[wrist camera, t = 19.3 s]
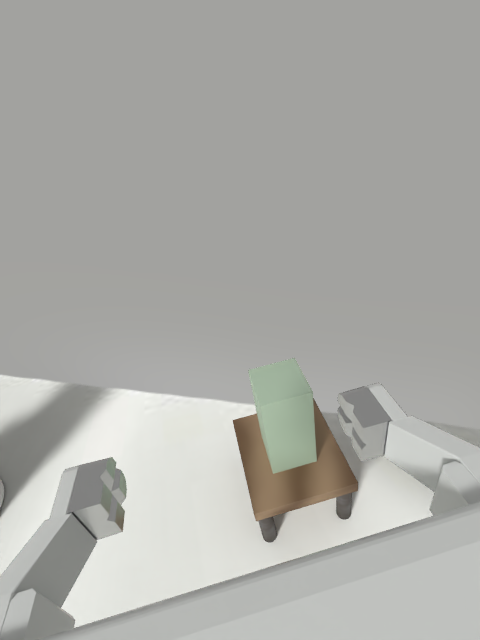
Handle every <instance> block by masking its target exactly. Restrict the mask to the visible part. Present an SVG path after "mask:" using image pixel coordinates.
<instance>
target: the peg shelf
mask: <svg viewBox="0 0 480 640" xmlns="http://www.w3.org/2000/svg"><path fill="white" fill-rule="evenodd" d="M313 406H314V423H315V440H316V457H317V461H316V462H312V463H309V464H305V465H302V466H298V467H295V468H292V469H288V470H285V471H281V472H278V473H274V474H273V472H272V468H271V465H270V462H269V459H268V455H267V452H266V449H265V445H264V442H263V439H262V435H261V430H260V426H259V421H258V416H257V414H254V415H250V416H247V417H243V418H239V419H236V420H233V424H234V428H235V432H236V437H237V441H238V446H239V450H240V454H241V459H242V463H243V467H244V472H245V476H246V481H247V485H248V489H249V494H250V498H251V502H252V507H253V511H254V515H255V519H256V521H259V524H260V528H261V531H262V535H263V538H264V540H265V541H267V542H273V541H274V540H275V539H276V536H277V533H276V529H275V524H274V520H273V516H275V515H279V514H282V513H285V512H289V511H292V510H295V509H299V508H302V507H305V506H309V505H312V504H315V503H319V502H322V501H325V500H329V499H332V498H335V497H336V512H337V515H338V516H339V517H340V518H341V519H348V518H349V517H350V515H351V498H352V492H355V491H358V482H357V480H356V478H355V476H354V474H353V472H352V471H351V469H350V467H349V465H348V463H347V461H346V459H345V457H344V455H343V453H342V452H341V450H340V448H339V446H338V444H337V442H336V440H335V438H334V436H333V434H332V433H331V431H330V429H329V427H328V425H327V423H326V421H325V419H324V417H323V416H322V414H321V412H320V410H319V408H318V406H317V404H316V402H315V400H314V398H313Z"/></svg>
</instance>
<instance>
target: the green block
mask: <svg viewBox="0 0 480 640" xmlns="http://www.w3.org/2000/svg"><path fill="white" fill-rule="evenodd" d="M249 377H250V382H251V387H252V391H253V396H254V401H255V406H256V411H257V416H258V421H259V426H260V430H261V435H262V439H263V442H264V445H265V449H266V452H267V455H268V459H269V462H270V465H271V468H272V472H273V474H274V473H278V472H281V471H285V470H288V469H292V468H295V467H298V466H302V465H305V464H309V463H312V462H316V461H317V457H316V440H315V423H314V406H313V392H312V390H311V388H310V386H309V384H308V382H307V380H306V379H305V377H304V375H303V373H302V371H301V369H300V367H299V365H298V364H297V362H296V360H295V358H292V359H289V360H285V361H281V362H277V363H274V364H270V365H266V366H263V367H258V368H255V369H251V370H249Z"/></svg>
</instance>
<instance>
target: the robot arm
mask: <svg viewBox="0 0 480 640" xmlns="http://www.w3.org/2000/svg"><path fill="white" fill-rule="evenodd" d="M338 402H339V404H340V407H339V408H338V418H339V422H340V425H341V427H342V429H343V431H344V433H345V435H347V436H349V437H350V438H352V447H353V449H354V450H355V452H356V454H357V456H358V457H359V459H360V461H361V462H362V461H365V460H369V459H373V458H377V457H380V456H384V457H385V458H387V459H388V460H390V461H391V462H392V463H394V464H395V465H397V466H398V467H400V468H401V469H403V470H404V471H405V472H407V473H408V474H410V475H411V476H413V477H414V478H415V479H417V480H418V481H420V482H421V483H423V484H424V485H425V486H427V487H428V488H430V489H431V490H433V491H434V492H435V493H434V496H433V500H432V503H431V506H430V511H431V513H432V514H433V516H431V517H428V518H425V519H422V520H418V521H415V522H412V523H409V524H406V525H402V526H399V527H396V528H393V529H390V530H386V531H383V532H380V533H377V534H374V535H370V536H367V537H364V538H361V539H358V540H354V541H351V542H348V543H345V544H341V545H338V546H335V547H332V548H329V549H325V550H322V551H319V552H316V553H313V554H309V555H306V556H303V557H300V558H297V559H293V560H290V561H287V562H284V563H281V564H277V565H274V566H271V567H268V568H265V569H261V570H258V571H255V572H252V573H249V574H245V575H242V576H239V577H236V578H232V579H229V580H226V581H223V582H220V583H216V584H213V585H210V586H207V587H204V588H200V589H197V590H194V591H191V592H188V593H184V594H181V595H178V596H175V597H172V598H168V599H165V600H162V601H159V602H156V603H152V604H149V605H146V606H143V607H140V608H136V609H133V610H130V611H127V612H124V613H120V614H117V615H114V616H111V617H108V618H104V619H101V620H98V621H95V622H92V623H88V624H85V625H82V626H79V627H76V628H74V624H75V619H74V618H73V616H71V615H70V614H69V613H67V612H66V611H64V610H63V609H61V607H62V605H63V603H64V601H65V600H66V598H67V596H68V594H69V592H70V590H71V589H72V587H73V585H74V583H75V581H76V579H77V578H78V576H79V574H80V572H81V570H82V569H83V567H84V565H85V563H86V561H87V559H88V558H89V556H90V554H91V552H92V550H93V549H94V547H95V545H96V543H97V541H96V540H99V539H102V538H105V537H108V536H111V535H114V534H117V533H120V532H123V523H124V513H125V511H124V509H123V508H122V507H121V505H122V503H123V502H124V500H125V498H126V490H127V489H126V480H125V477H124V474H123V473H122V471H121V470H119V469H116V462H115V460H114V459H113V458H112V457H111V458H107V459H103V460H99V461H95V462H91V463H87V464H83V465H79V466H75V467H71V468H68V469H65V471H64V472H63V474H62V476H61V480H60V483H59V487H58V490H57V494H56V497H55V501H54V504H53V508H52V512H51V515H50V519H49V520H45V521H44V522H43V523H42V525H41V526H40V527H39V528H38V530H37V531H36V532H35V534H34V535H33V536H32V537H31V539H30V540H29V541H28V542H27V544H26V545H25V546H24V547H23V549H22V550H21V551H20V552H19V554H18V555H17V556H16V557H15V559H14V560H13V561H12V562H11V564H10V565H9V566H8V567H7V569H6V570H5V571H4V572H3V574H2V575H1V576H0V640H480V447H477V446H475V445H473V444H471V443H469V442H467V441H465V440H463V439H461V438H458V437H456V436H454V435H452V434H450V433H448V432H446V431H444V430H442V429H439V428H437V427H435V426H433V425H431V424H429V423H427V422H425V421H422V420H420V419H418V418H416V417H414V416H407V415H406V414H405V412H404V411H403V410H402V409H401V408H400V406H399V405H398V404H397V403H396V401H395V400H394V399H393V398H392V397H391V395H390V394H389V393H388V392H387V391H386V389H385V388H384V387H383V386H382V384H380V383H376V384H372V385H368V386H365V387H360V388H357V389H353V390H350V391H347V392H343V393H340V394H339V395H338ZM3 498H4V485H3V483H2V481H1V479H0V508H1V505H2V502H3Z"/></svg>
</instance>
